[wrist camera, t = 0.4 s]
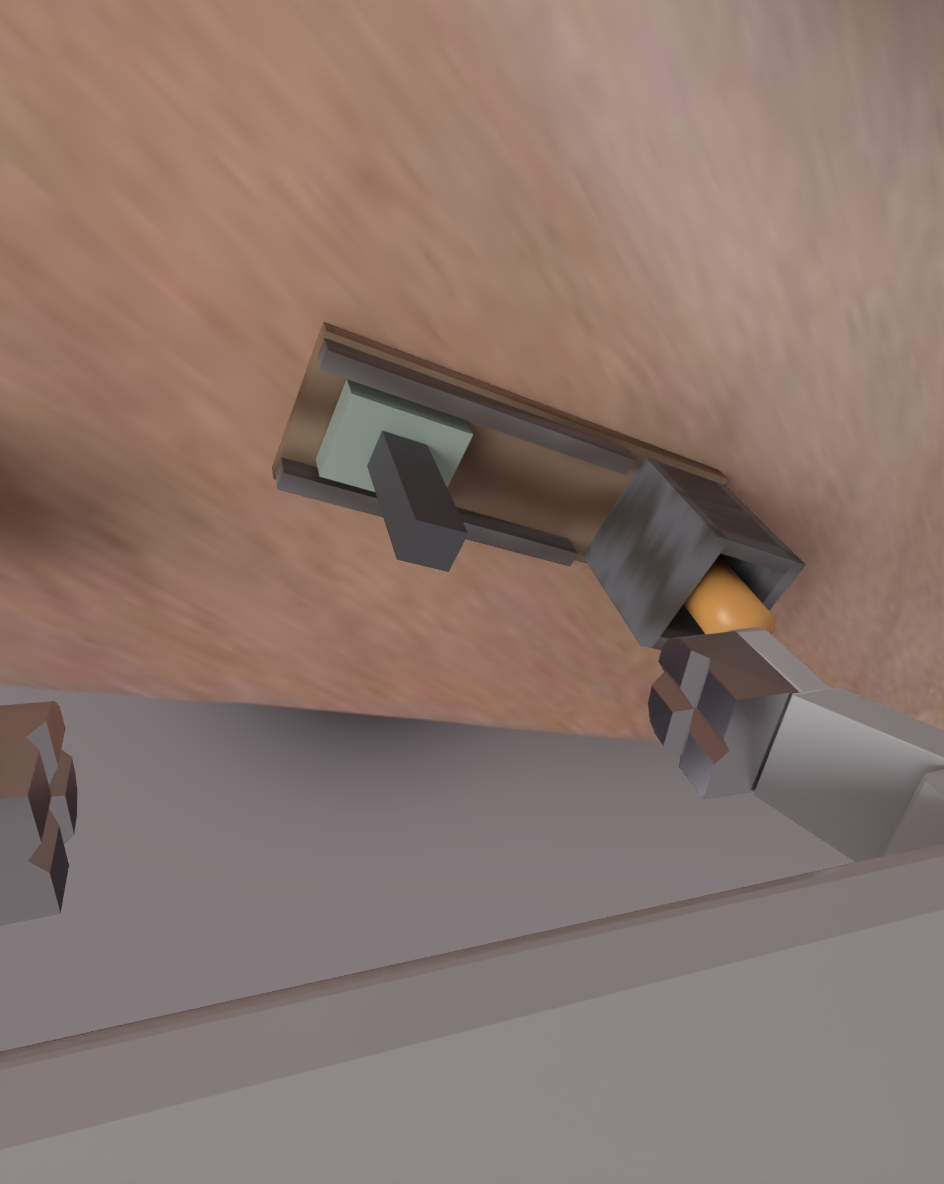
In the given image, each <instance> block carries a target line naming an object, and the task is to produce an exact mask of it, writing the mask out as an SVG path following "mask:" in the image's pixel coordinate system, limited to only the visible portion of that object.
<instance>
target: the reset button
mask: <svg viewBox="0 0 944 1184" xmlns="http://www.w3.org/2000/svg"><path fill="white" fill-rule="evenodd" d="M683 605H684V606H685V608H686V609H687V610H688V612H689V613H690V614H691V615H692V617H693V618H694V619H695V621H696V622H697V623H698V625H699V626H700V627H701V629H702V630H703V631H704V633H705V634H713V633H722V632H727V631H730V630H737V629H745V628H752V627H758V628H761V629H764V630H766V631H768V632H769V633H770V634H771V635H772V633H773V631H774V628H775V618H774V616H773V615H772V614H771V612H770V611H769V610H768V609H767V608H766V607H765V606H764V605H763V603H762V602H761V601H760V600H759V599H758V598H757V597H756V596H755V594H754V593H753V592H752V591H751V590H750V589H749V588H748V586H747V585H746V584H745V583H744V582H743V581H742V580H741V579H740V577H739V576H738V575H737V574H736V573H735V572H734V571H733V570H732V568H731V567H730V566H729V565H728V564H727V563H726V562H725V560H724V559H723V558H721V557H719V556H718V557H717V558H716V560H715V561H714V563H713V564H712V565H711V567H710V568H709V569H708V571H707V572H706V574H705V575H704V576H703V578H702V579H701V580H700V582H699V583H698V585H697V586H696V587H695V589H694V590H693V592H692V593H691V594H690V596H689V597H688V598H687V600H686V601H685V603H684V604H683Z"/></svg>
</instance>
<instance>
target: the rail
mask: <svg viewBox="0 0 944 1184" xmlns="http://www.w3.org/2000/svg"><path fill="white" fill-rule="evenodd" d="M346 379H348V380H351V381H354V382H357V383H360V384H363V385H366V386H369V387H372V388H374V389H377V390H380V391H383V392H386V393H389V394H392V395H395V396H398V397H401V398H403V399H406V400H409V401H412V402H415V403H418V404H421V405H424V406H427V407H430V408H432V409H435V410H438V411H441V412H444V413H447V414H450V415H453V416H456V417H459V418H462V419H464V420H465V421H466V423H467V425H468V426H469V428H470V430H471V432H472V433H473V436H472V438H471V440H470V442H469V444H468V446H467V448H466V451H465V453H464V455H463V457H462V459H461V461H460V463H459V465H458V467H457V469H456V471H455V473H454V475H453V477H452V479H451V481H450V483H449V485H448V487H447V489H448V491H449V493H450V495H451V497H452V499H453V502H454V504H455V506H456V508H457V510H458V512H459V515H460V517H461V519H462V521H463V523H464V525H465V527H466V530H467V532H468V535H467V537H466V539H467V540H471V541H475V542H479V543H483V544H486V545H490V546H494V547H498V548H502V549H505V550H509V551H513V552H517V553H521V554H524V555H528V556H532V557H536V558H540V559H543V560H547V561H551V562H555V563H559V564H562V565H566V566H571V564H572V563H573V561H574V560H577V561H581V562H584V563H587V564H588V565H589V567H590V568H591V570H592V571H593V573H594V574H595V576H596V578H597V579H598V581H599V582H600V584H601V585H602V587H603V588H604V590H605V592H606V593H607V595H608V596H609V598H610V599H611V601H612V602H613V604H614V606H615V607H616V609H617V610H618V612H619V613H620V615H621V616H622V618H623V619H624V621H625V623H626V624H627V626H628V627H629V629H630V630H631V632H632V633H633V635H634V637H635V638H636V640H637V641H638V643H639V644H640V645H641V646H645V647H650V648H654V649H659V650H662V647H663V645H664V644H665V643H666V641H667V640H668V639H669V638H676V637H685V636H694V635H704V634H705V633H704V631H703V630H702V629H701V627H700V626H699V625H698V623H697V622H696V621H695V619H694V618H693V617H692V615H691V614H690V613H689V612H688V610H687V609H686V608H685V606H684V605H683V604H684V603H685V601H686V600H687V598H688V597H689V596H690V594H691V593H692V592H693V590H694V589H695V587H696V586H697V585H698V583H699V582H700V580H701V579H702V578H703V576H704V575H705V574H706V572H707V571H708V569H709V568H710V567H711V565H712V564H713V563H714V561H715V560H716V558H717V557H718V556H719V557H721V558H723V559H724V560H725V562H726V563H727V564H728V565H729V566H730V567H731V568H732V570H733V571H734V572H735V573H736V574H737V575H738V576H739V577H740V579H741V580H742V581H743V582H744V583H745V584H746V585H747V586H748V588H749V589H750V590H751V591H752V592H753V593H754V594H755V596H756V597H757V598H758V599H759V600H760V601H761V602H762V603H763V605H764V606H765V607H766V608H767V609H768V610H770V609H771V607H772V606H773V605H774V604H775V602H776V601H777V600H778V599H779V597H780V596H781V595H782V594H783V592H784V591H785V590H786V589H787V587H788V586H789V585H790V584H791V582H792V581H793V580H794V579H795V577H796V576H797V575H798V574H799V572H800V571H801V570H802V569H803V567H804V566H805V564H804V563H803V562H802V561H801V560H800V559H799V558H798V557H797V556H796V555H795V554H794V553H793V552H792V551H791V550H790V549H789V548H788V547H787V546H786V545H785V544H784V543H783V542H782V541H781V540H780V539H779V538H778V537H777V536H776V535H775V534H774V533H773V532H772V531H771V530H770V529H769V528H768V527H767V526H766V525H765V524H764V523H763V522H762V521H761V520H760V519H759V518H758V517H757V516H756V515H755V514H754V513H753V512H752V511H751V510H750V509H748V508H747V507H746V506H745V505H744V504H743V503H742V502H741V501H740V500H739V499H738V498H737V497H736V496H735V495H734V494H733V493H732V492H731V491H730V490H729V489H728V488H727V487H726V486H725V485H726V483H727V482H728V479H727V478H726V477H725V476H724V475H723V474H722V473H721V472H720V471H719V470H717V469H714V468H711V467H709V466H706V465H703V464H701V463H698V462H695V461H693V460H690V459H687V458H685V457H682V456H679V455H677V454H674V453H671V452H669V451H666V450H663V449H661V448H658V447H655V446H653V445H650V444H647V443H645V442H642V441H639V440H637V439H634V438H631V437H629V436H626V435H623V434H621V433H618V432H615V431H613V430H610V429H607V428H605V427H602V426H599V425H597V424H594V423H591V422H589V421H586V420H583V419H581V418H578V417H575V416H573V415H570V414H567V413H565V412H562V411H559V410H557V409H554V408H551V407H549V406H546V405H543V404H541V403H538V402H535V401H533V400H530V399H527V398H525V397H522V396H519V395H517V394H514V393H511V392H509V391H506V390H503V389H501V388H498V387H495V386H493V385H490V384H487V383H485V382H482V381H479V380H477V379H474V378H471V377H469V376H466V375H463V374H460V373H458V372H455V371H452V370H450V369H447V368H444V367H442V366H439V365H436V364H434V363H431V362H428V361H426V360H423V359H420V358H418V357H415V356H412V355H410V354H407V353H404V352H402V351H399V350H396V349H394V348H391V347H388V346H386V345H383V344H380V343H378V342H375V341H372V340H370V339H367V338H364V337H362V336H359V335H356V334H354V333H351V332H348V331H346V330H343V329H340V328H338V327H335V326H332V325H330V324H327V323H324V322H323V325H322V328H321V331H320V334H319V336H318V339H317V342H316V345H315V348H314V351H313V353H312V356H311V359H310V362H309V365H308V368H307V370H306V373H305V376H304V379H303V382H302V385H301V387H300V390H299V393H298V396H297V399H296V402H295V404H294V407H293V410H292V413H291V416H290V419H289V421H288V424H287V427H286V430H285V433H284V436H283V438H282V441H281V444H280V447H279V450H278V453H277V455H276V458H275V461H274V464H273V467H272V470H273V478H274V479H276V481H277V489H278V490H281V491H285V492H289V493H293V494H297V495H300V496H304V497H308V498H312V499H316V500H319V501H323V502H327V503H331V504H335V505H338V506H342V507H346V508H350V509H354V510H357V511H361V512H365V513H369V514H373V515H376V516H380V517H383V514H382V511H381V508H380V505H379V502H378V499H377V496H376V492H373V491H370V490H366V489H362V488H359V487H355V486H352V485H348V484H345V483H341V482H337V481H334V480H330V479H327V478H323V477H319V472H318V467H317V463H316V458H317V455H318V452H319V450H320V447H321V444H322V442H323V439H324V437H325V434H326V431H327V429H328V426H329V424H330V421H331V418H332V416H333V413H334V410H335V408H336V405H337V403H338V400H339V397H340V395H341V392H342V390H343V387H344V384H345V382H346Z"/></svg>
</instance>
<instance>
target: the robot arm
mask: <svg viewBox="0 0 944 1184" xmlns="http://www.w3.org/2000/svg"><path fill="white" fill-rule="evenodd" d="M658 662H659V664H660V665H661V667H662V669H663V671H664V673H663V674H662V675H661V676H660V677H659V678H658V679H657V680H656V681H655V682H654V683H653V685H652V687H651V691H650V696H649V700H648V709H649V718H650V723H651V725H652V728H653V730H654V733H655V735H656V736H657V737H658V739H659V740H660V742H661V743H662V745H663V746H665V747H667V748H669V749H670V750H672V751H674V752H676V753H678V754H679V755H680V762H679V767H680V769H681V770H682V772H683V773H684V774H685V776H686V777H687V778H688V780H689V781H690V782H691V784H692V785H693V786H694V788H695V789H696V791H697V792H698V793H699V794H700V796H701V797H702V799H708V798H716V797H723V796H730V795H736V794H742V793H749V792H754V795H755V796H756V797H758V798H759V799H761V800H762V801H764V802H765V803H767V804H769V805H770V806H771V807H773V808H775V809H776V810H778V811H779V812H781V813H782V814H784V815H785V816H787V817H788V818H790V819H791V820H793V821H794V822H796V823H797V824H799V825H800V826H802V827H803V828H805V829H806V830H808V831H810V832H811V833H812V834H814V835H815V836H817V837H818V838H820V839H821V840H823V841H825V842H826V843H828V844H829V845H830V846H832V847H834V848H835V849H837V850H838V851H840V852H841V853H843V854H844V855H846V856H847V857H849V858H850V859H852V860H853V861H855V863H850V864H846V865H841V866H837V867H833V868H828V869H823V870H819V871H815V872H810V873H805V874H801V875H796V876H792V877H787V878H783V879H778V880H774V881H769V882H765V883H760V884H755V885H751V886H747V887H742V888H737V889H733V890H728V891H724V892H719V893H716V894H710V895H706V896H701V897H697V898H692V899H688V900H683V901H678V902H674V903H670V904H665V905H660V906H656V907H651V908H647V909H642V910H638V911H634V912H629V913H624V914H620V915H615V916H611V917H606V918H602V919H597V920H593V921H588V922H584V923H579V924H574V925H571V926H565V927H561V928H557V929H552V930H548V931H543V932H539V933H534V934H529V935H525V936H521V937H516V938H512V939H507V940H503V941H498V942H493V943H489V944H484V945H480V946H475V947H471V948H466V949H462V950H457V951H453V952H448V953H443V954H439V955H434V956H430V957H425V958H421V959H417V960H412V961H408V962H403V963H399V964H394V965H390V966H385V967H381V968H376V969H371V970H367V971H363V972H358V973H353V974H349V975H344V976H340V977H335V978H331V979H326V980H322V981H317V982H313V983H308V984H303V985H299V986H295V987H290V988H285V989H281V990H276V991H272V992H267V993H263V994H258V995H254V996H249V997H245V998H241V999H236V1000H231V1001H227V1002H222V1003H218V1004H214V1005H209V1006H204V1007H200V1008H196V1009H191V1010H186V1011H181V1012H178V1013H172V1014H168V1015H163V1016H159V1017H154V1018H150V1019H146V1020H141V1021H137V1022H132V1023H127V1024H123V1025H118V1026H114V1027H110V1028H105V1029H100V1030H96V1031H91V1032H87V1033H82V1034H78V1035H74V1036H69V1037H64V1038H60V1039H55V1040H51V1041H46V1042H41V1043H37V1044H32V1045H28V1046H23V1047H19V1048H14V1049H10V1050H5V1051H1V1052H0V1184H944V730H942V729H940V728H937V727H935V726H932V725H930V724H928V723H925V722H923V721H920V720H918V719H915V718H913V717H910V716H908V715H905V714H903V713H901V712H898V711H896V710H893V709H891V708H888V707H886V706H883V705H881V704H879V703H876V702H874V701H871V700H869V699H866V698H864V697H861V696H859V695H857V694H854V693H852V692H849V691H847V690H844V689H842V688H830V687H829V686H827V685H826V684H825V683H824V682H823V681H822V680H821V679H820V678H819V677H818V676H816V675H815V674H814V673H813V672H812V671H811V670H810V669H809V668H808V667H806V666H805V665H804V664H803V663H802V662H801V661H800V660H799V659H798V658H796V657H795V656H794V655H793V654H792V653H791V652H790V651H789V650H788V649H787V648H785V647H784V646H783V645H782V644H781V643H780V642H779V641H778V640H777V639H775V638H774V637H773V636H772V635H771V634H770V633H769V632H768V631H766V630H764V629H761V628H758V627H752V628H745V629H737V630H730V631H727V632H722V633H713V634H704V635H694V636H685V637H676V638H669V639H668V640H667V641H666V643H665V644H664V645H663V647H662V650H661V653H660V657H659V660H658ZM64 733H65V725H64V721H63V717H62V714H61V710H60V707H59V705H58V704H57V703H56V702H55V701H51V702H40V703H27V704H15V705H3V706H0V926H1V925H6V924H11V923H16V922H21V921H26V920H31V919H36V918H41V917H45V916H51V915H55V914H60V913H61V908H62V902H63V897H64V891H65V885H66V880H67V874H68V868H69V863H68V859H67V855H66V851H65V847H64V844H65V843H66V842H67V841H68V840H69V839H70V838H71V837H72V836H73V835H74V833H75V826H76V819H77V783H76V774H75V769H74V764H73V759H72V757H71V756H70V755H69V754H67V753H66V752H64V751H63V750H62V749H61V748H62V743H63V737H64Z"/></svg>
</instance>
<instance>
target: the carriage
mask: <svg viewBox="0 0 944 1184" xmlns="http://www.w3.org/2000/svg"><path fill="white" fill-rule="evenodd" d="M472 436H473V433H472V432H471V430H470V428H469V426H468V425H467V423H466V421H465V420H464V419H462V418H459V417H456V416H453V415H450V414H447V413H444V412H441V411H438V410H435V409H432V408H430V407H427V406H424V405H421V404H418V403H415V402H412V401H409V400H406V399H403V398H401V397H398V396H395V395H392V394H389V393H386V392H383V391H380V390H377V389H374V388H372V387H369V386H366V385H363V384H360V383H357V382H354V381H351V380H348V379H346V382H345V384H344V387H343V390H342V392H341V395H340V397H339V400H338V403H337V405H336V408H335V410H334V413H333V416H332V418H331V421H330V424H329V426H328V429H327V431H326V434H325V437H324V439H323V442H322V444H321V447H320V450H319V452H318V455H317V458H316V463H317V467H318V472H319V477H323V478H327V479H330V480H334V481H337V482H341V483H345V484H348V485H352V486H355V487H359V488H362V489H366V490H370V491H373V492H376V496H377V499H378V502H379V505H380V508H381V511H382V514H383V518H384V521H385V524H386V527H387V530H388V533H389V536H390V539H391V543H392V546H393V549H394V552H395V555H396V558H397V560H401V561H406V562H410V563H414V564H418V565H422V566H426V567H431V568H435V569H439V570H443V571H447V572H449V570H450V568H451V566H452V564H453V562H454V560H455V558H456V556H457V555H458V553H459V551H460V549H461V547H462V545H463V543H464V541H465V539H466V537H467V535H468V532H467V530H466V527H465V525H464V523H463V521H462V519H461V517H460V515H459V512H458V510H457V508H456V506H455V504H454V502H453V499H452V497H451V495H450V493H449V491H448V489H447V487H448V485H449V483H450V481H451V479H452V477H453V475H454V473H455V471H456V469H457V467H458V465H459V463H460V461H461V459H462V457H463V455H464V453H465V451H466V448H467V446H468V444H469V442H470V440H471V438H472Z"/></svg>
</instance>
